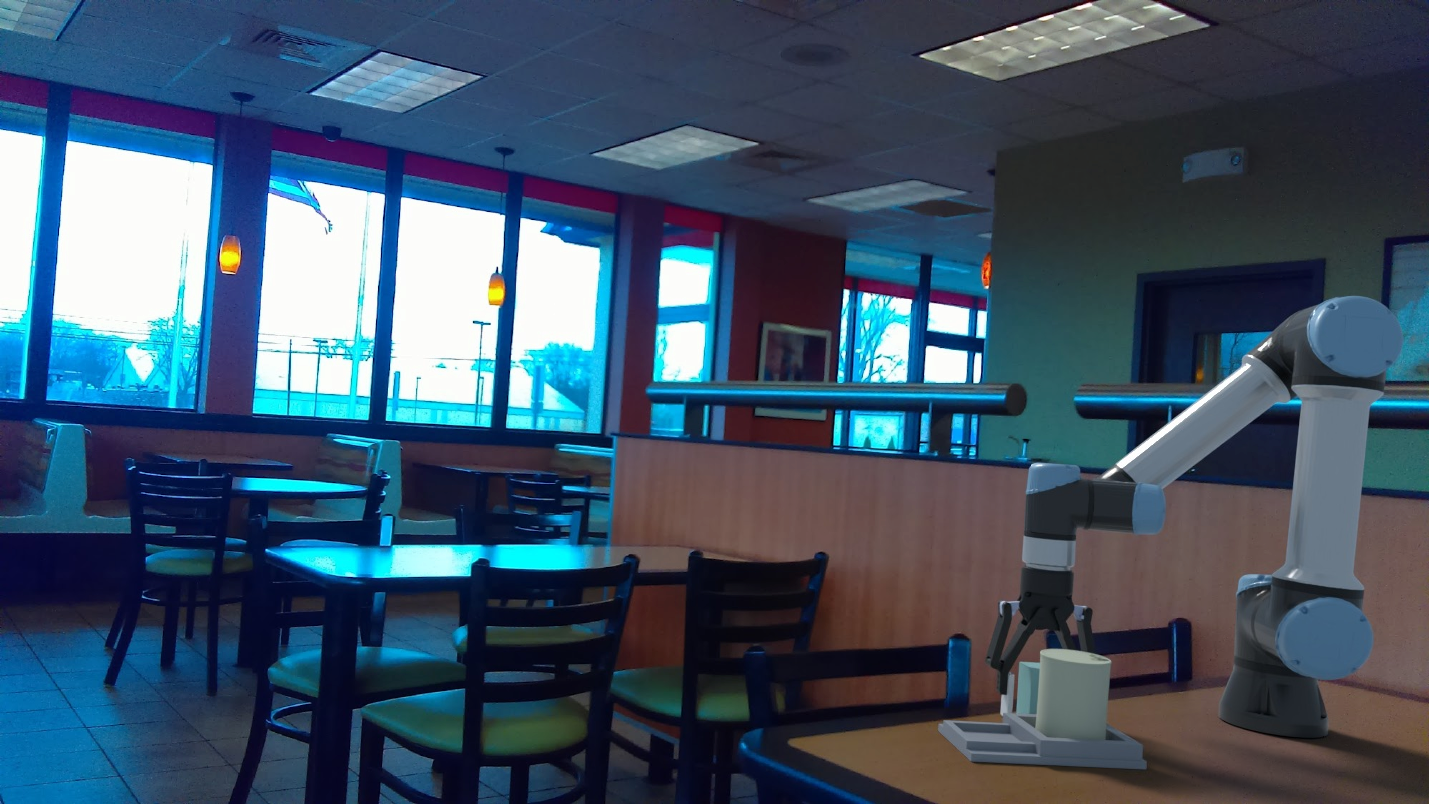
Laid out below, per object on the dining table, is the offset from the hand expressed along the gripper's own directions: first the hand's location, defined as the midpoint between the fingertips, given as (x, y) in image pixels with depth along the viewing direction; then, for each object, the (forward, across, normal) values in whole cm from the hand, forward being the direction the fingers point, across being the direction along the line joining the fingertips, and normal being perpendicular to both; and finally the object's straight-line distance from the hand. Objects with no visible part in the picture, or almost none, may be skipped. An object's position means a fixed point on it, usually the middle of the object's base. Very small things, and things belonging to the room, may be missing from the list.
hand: (1038, 718), depth 160 cm
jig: (0, +6, +16) cm, 17 cm away
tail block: (0, 0, 0) cm, 0 cm away
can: (-1, +2, +16) cm, 16 cm away
